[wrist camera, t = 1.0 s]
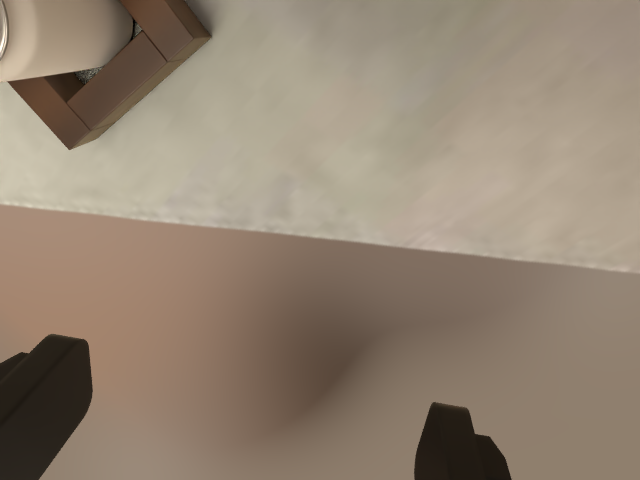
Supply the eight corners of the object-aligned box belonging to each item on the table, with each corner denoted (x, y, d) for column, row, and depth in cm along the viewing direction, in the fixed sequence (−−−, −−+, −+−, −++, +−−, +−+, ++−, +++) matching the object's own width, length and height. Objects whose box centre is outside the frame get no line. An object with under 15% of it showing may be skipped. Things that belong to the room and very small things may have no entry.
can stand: (-31, -4, 33) (-74, -7, 30) (82, -137, 29) (46, -157, 26) (95, 139, 36) (69, 150, 33) (212, 37, 32) (194, 38, 29)
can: (102, 86, 34) (-23, 115, 24) (26, 17, 33) (-145, 13, 22) (154, 16, 32) (42, 10, 21) (75, -62, 31) (-89, -111, 20)
